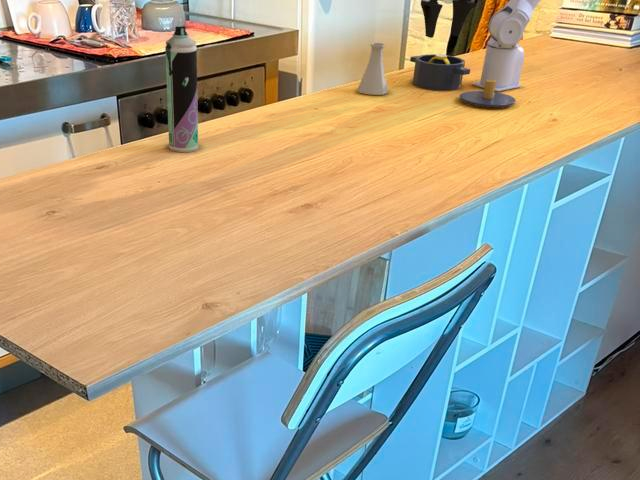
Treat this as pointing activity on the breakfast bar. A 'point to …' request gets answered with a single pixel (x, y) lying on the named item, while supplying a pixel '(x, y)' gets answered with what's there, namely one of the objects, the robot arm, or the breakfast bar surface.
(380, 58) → the flask
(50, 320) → the breakfast bar surface
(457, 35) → the robot arm
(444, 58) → the yellow ring
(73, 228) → the breakfast bar surface
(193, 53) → the spray can
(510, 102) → the lid
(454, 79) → the dark grey pot
